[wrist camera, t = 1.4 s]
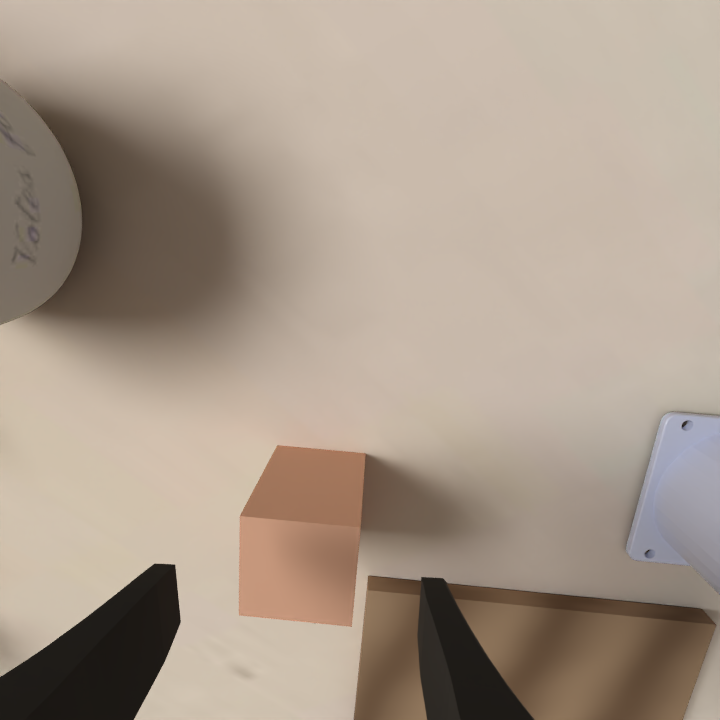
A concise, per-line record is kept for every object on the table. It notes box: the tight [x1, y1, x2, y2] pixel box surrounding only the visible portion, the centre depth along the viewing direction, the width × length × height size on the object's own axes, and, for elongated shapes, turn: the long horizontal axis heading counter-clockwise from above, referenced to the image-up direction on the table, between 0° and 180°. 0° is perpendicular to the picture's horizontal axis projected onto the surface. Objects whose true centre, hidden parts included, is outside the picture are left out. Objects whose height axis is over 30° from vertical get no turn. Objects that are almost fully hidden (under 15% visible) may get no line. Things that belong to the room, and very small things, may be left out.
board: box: [354, 576, 716, 720], centre depth 24 cm, size 18×14×1 cm
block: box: [239, 445, 366, 627], centre depth 19 cm, size 4×4×6 cm
